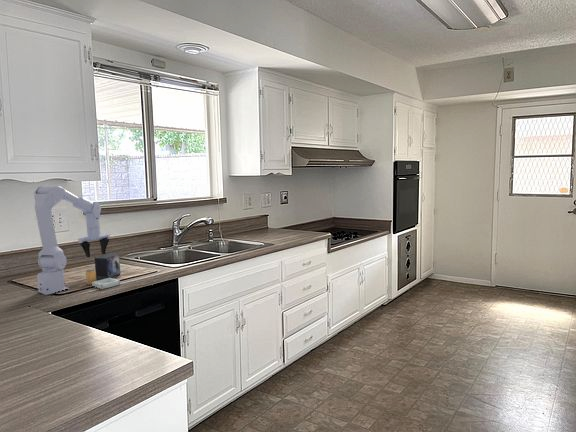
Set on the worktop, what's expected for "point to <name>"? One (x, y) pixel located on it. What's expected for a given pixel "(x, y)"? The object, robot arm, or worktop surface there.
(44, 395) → the worktop surface
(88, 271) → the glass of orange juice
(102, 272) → the small box
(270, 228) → the worktop surface
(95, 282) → the tray
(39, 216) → the robot arm
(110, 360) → the worktop surface
